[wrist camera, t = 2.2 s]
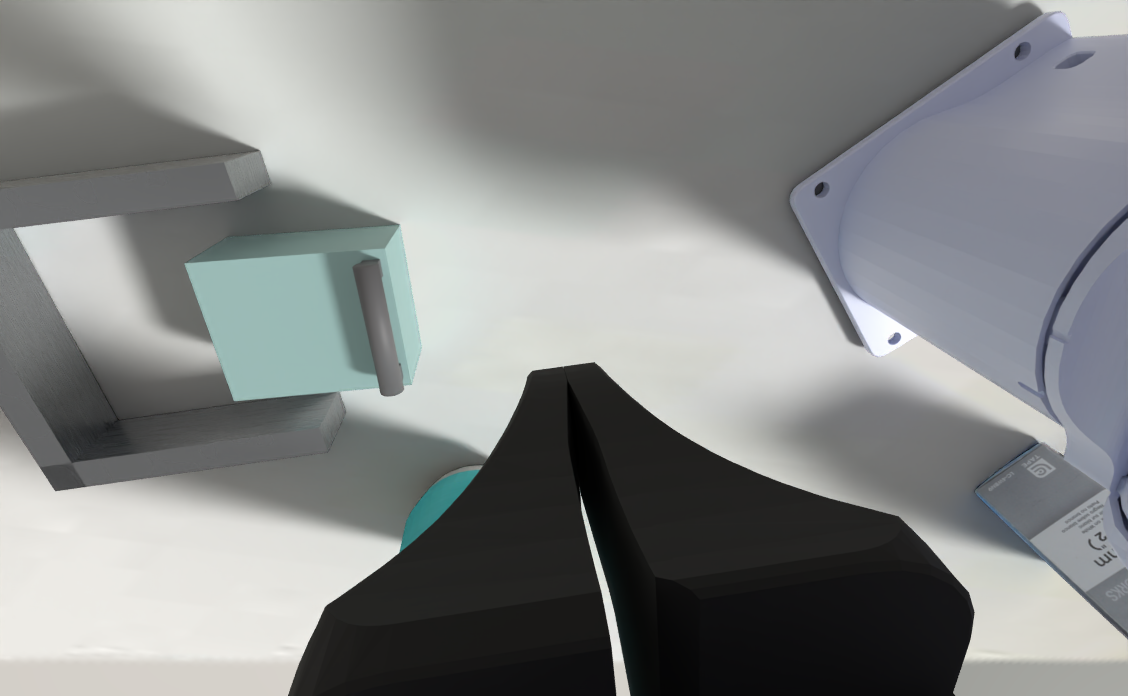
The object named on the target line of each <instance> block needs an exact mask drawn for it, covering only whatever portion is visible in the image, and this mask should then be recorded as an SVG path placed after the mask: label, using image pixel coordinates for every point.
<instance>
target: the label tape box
mask: <svg viewBox="0 0 1128 696" xmlns="http://www.w3.org/2000/svg"><path fill="white" fill-rule="evenodd" d="M975 493H976V494H977V496H978V497H979V498H980V499H981V500H982V501H983V502H984V503H985V504H986V505H987V506H988V507H989V508H990V509H992V510H993V511H994V512H995V513H996V514H997V515H998V516H999V517H1000V518H1001V519H1002V520H1003V521H1004V522H1005V523H1006V524H1007V525H1008V526H1009V527H1010V528H1011V529H1012V530H1013V531H1014V532H1015V533H1016V534H1017V535H1018V536H1019V537H1020V538H1021V539H1022V540H1023V541H1024V542H1025V543H1027V544H1028V545H1029V546H1030V547H1031V548H1032V549H1033V550H1034V551H1035V552H1036V553H1037V554H1038V555H1039V556H1040V557H1041V558H1042V559H1043V560H1044V561H1045V562H1046V563H1047V564H1048V565H1049V566H1051V567H1052V568H1053V569H1054V570H1055V571H1056V572H1057V573H1058V574H1059V575H1060V576H1061V577H1062V578H1063V579H1064V580H1065V581H1066V582H1067V583H1068V584H1070V585H1071V586H1072V587H1073V588H1074V589H1075V590H1076V591H1077V592H1078V593H1079V594H1080V595H1081V596H1082V597H1083V598H1084V599H1085V600H1086V601H1087V602H1089V603H1090V604H1091V605H1092V606H1093V607H1094V608H1095V609H1096V610H1097V611H1098V612H1099V613H1100V614H1101V615H1102V616H1103V617H1105V618H1106V619H1107V620H1108V621H1109V622H1110V623H1111V624H1112V625H1113V626H1114V627H1115V628H1116V629H1117V630H1118V631H1119V632H1121V633H1122V634H1123V635H1124V636H1125V637H1126V638H1127V639H1128V570H1127V569H1126V567H1125V566H1124V565H1123V564H1122V563H1121V562H1120V560H1119V559H1118V557H1117V555H1116V554H1115V552H1114V551H1113V549H1112V547H1111V546H1110V544H1109V542H1108V539H1107V536H1106V534H1105V531H1104V528H1103V508H1104V505H1105V502H1106V500H1107V497H1108V496H1109V494H1110V493H1111V492H1110V491H1109V490H1107V489H1106V488H1104V487H1103V486H1101V485H1100V484H1099V483H1097V482H1096V481H1094V480H1093V479H1091V478H1090V477H1088V476H1087V475H1086V474H1084V473H1083V472H1081V471H1080V470H1078V469H1077V468H1075V467H1074V466H1072V465H1071V464H1070V463H1068V462H1067V461H1065V460H1064V456H1063V455H1062V454H1060V453H1058V452H1057V451H1055V450H1054V449H1052V448H1051V447H1049V446H1048V445H1047V444H1045V443H1039V444H1037V445H1036V446H1034V447H1033V448H1031V449H1030V450H1028V451H1026V452H1025V453H1023V454H1022V455H1020V456H1019V457H1017V458H1016V459H1014V460H1013V461H1011V462H1010V463H1009V464H1007V465H1005V466H1004V467H1003V468H1001V469H1000V470H999V471H998V472H996V473H995V474H994V475H992V476H991V477H990V478H989V479H987V480H986V481H985V482H984V483H983V484H982V485H980V486H979V487H978V488H977V489H976V490H975Z"/></svg>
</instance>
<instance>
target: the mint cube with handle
mask: <svg viewBox="0 0 1128 696" xmlns="http://www.w3.org/2000/svg"><path fill="white" fill-rule="evenodd" d="M184 264H185V267H186V270H187V272H188V275H189V278H190V281H191V283H192V286H193V289H194V292H195V295H196V297H197V300H198V303H199V306H200V308H201V311H202V314H203V317H204V319H205V322H206V325H207V328H208V331H209V333H210V336H211V339H212V342H213V344H214V347H215V350H216V353H217V355H218V358H219V361H220V364H221V367H222V369H223V372H224V375H225V378H226V380H227V383H228V386H229V389H230V391H231V394H232V397H233V400H234V401H243V400H253V399H264V398H275V397H286V396H296V395H307V394H318V393H329V392H339V391H350V390H361V389H372V388H379V389H380V393H381V395H383V396H395V395H398V394H400V393H401V392H402V391H403V390H404V385H412V381H413V378H414V374H415V371H416V367H417V363H418V360H419V356H420V352H421V349H422V344H421V339H420V333H419V327H418V322H417V316H416V311H415V305H414V299H413V294H412V288H411V283H410V277H409V271H408V266H407V260H406V255H405V249H404V243H403V238H402V232H401V227H400V225H388V226H374V227H360V228H346V229H332V230H318V231H304V232H290V233H276V234H262V235H248V236H234V237H227V238H225V239H223V240H222V241H220V242H218V243H217V244H215V245H214V246H212V247H210V248H209V249H207V250H205V251H204V252H202V253H201V254H199V255H197V256H196V257H194V258H192V259H191V260H189V261H188V262H186V263H184Z"/></svg>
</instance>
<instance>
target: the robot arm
mask: <svg viewBox="0 0 1128 696" xmlns="http://www.w3.org/2000/svg"><path fill="white" fill-rule="evenodd" d="M1018 45H1020V53H1019V55H1018V57H1017V58H1016V59H1015V57H1014V52H1015V50H1016V48H1017V47H1018ZM821 182H823V185H824V188H823V190H822V192H821V193H820V194H818V195H816V196H815V193H814V190H815V187H816V186H817V185H818V184H819V183H821ZM790 205H791V207H792V209H793V211H794V213H795V215H796V217H797V219H798V221H799V223H800V224H801V226H802V228H803V230H804V232H805V234H806V236H807V238H808V240H809V242H810V244H811V245H812V247H813V249H814V251H815V253H816V255H817V257H818V259H819V261H820V263H821V265H822V267H823V268H824V270H825V272H826V274H827V276H828V278H829V280H830V282H831V284H832V286H833V288H834V290H835V291H836V293H837V295H838V297H839V299H840V301H841V303H842V305H843V307H844V309H845V311H846V312H847V314H848V316H849V318H850V320H851V322H852V324H853V326H854V328H855V330H856V332H857V334H858V335H859V337H860V339H861V341H862V343H863V345H864V347H865V349H866V350H867V351H868V352H869V353H870V354H871V355H873V356H876V357H882V356H884V355H886V354H888V353H890V352H891V351H893V350H895V349H896V348H898V347H899V346H901V345H903V344H904V343H906V342H908V341H909V340H911V339H912V338H914V337H916V336H917V335H918V336H920V337H921V338H923V339H925V340H926V341H928V342H929V343H931V344H932V345H934V346H936V347H937V348H939V349H940V350H942V351H944V352H945V353H947V354H948V355H950V356H951V357H953V358H955V359H956V360H958V361H959V362H961V363H963V364H964V365H966V366H967V367H969V368H970V369H972V370H974V371H975V372H977V373H978V374H980V375H982V376H983V377H985V378H986V379H988V380H989V381H991V382H993V383H994V384H996V385H997V386H999V387H1001V388H1002V389H1004V390H1005V391H1007V392H1008V393H1010V394H1012V395H1013V396H1015V397H1016V398H1018V399H1020V400H1021V401H1023V402H1024V403H1026V404H1027V405H1029V406H1031V407H1032V408H1034V409H1035V410H1037V411H1039V412H1040V413H1042V414H1043V415H1045V416H1046V417H1048V418H1050V419H1051V420H1053V421H1054V422H1056V423H1058V424H1059V425H1061V426H1062V427H1064V429H1065V431H1066V436H1067V446H1066V450H1065V454H1064V460H1065V461H1067V462H1068V463H1070V464H1071V465H1072V466H1074V467H1075V468H1077V469H1078V470H1080V471H1081V472H1083V473H1084V474H1086V475H1087V476H1088V477H1090V478H1091V479H1093V480H1094V481H1096V482H1097V483H1099V484H1100V485H1101V486H1103V487H1104V488H1106V489H1107V490H1109V491H1110V492H1111V493H1110V494H1109V496H1108V497H1107V500H1106V502H1105V505H1104V508H1103V528H1104V531H1105V534H1106V536H1107V539H1108V542H1109V544H1110V546H1111V547H1112V549H1113V551H1114V552H1115V554H1116V555H1117V557H1118V559H1119V560H1120V562H1121V563H1122V564H1123V565H1124V566H1125V567H1126V569H1127V570H1128V34H1124V35H1108V36H1091V37H1075V38H1073V37H1072V33H1071V29H1070V25H1069V20H1068V18H1067V16H1066V14H1065V13H1063V12H1061V11H1060V12H1048V13H1045V14H1043V15H1040V16H1039V17H1038V18H1036V19H1035V20H1033V21H1032V22H1030V23H1029V24H1028V25H1026V26H1025V27H1023V28H1022V29H1020V30H1019V31H1018V32H1016V33H1015V34H1013V35H1012V36H1010V37H1009V38H1007V39H1006V40H1005V41H1003V42H1002V43H1000V44H999V45H997V46H996V47H995V48H993V49H992V50H990V51H989V52H987V53H986V54H985V55H983V56H982V57H980V58H979V59H977V60H976V61H975V62H973V63H972V64H970V65H969V66H967V67H966V68H965V69H963V70H962V71H960V72H959V73H957V74H956V75H954V76H953V77H952V78H950V79H949V80H947V81H946V82H944V83H943V84H942V85H940V86H939V87H937V88H936V89H934V90H933V91H932V92H930V93H929V94H927V95H926V96H924V97H923V98H922V99H920V100H919V101H917V102H916V103H914V104H913V105H912V106H910V107H909V108H907V109H906V110H904V111H903V112H902V113H900V114H899V115H897V116H896V117H894V118H893V119H891V120H890V121H889V122H887V123H886V124H884V125H883V126H881V127H880V128H879V129H877V130H876V131H874V132H873V133H871V134H870V135H869V136H867V137H866V138H864V139H863V140H861V141H860V142H859V143H857V144H856V145H854V146H853V147H851V148H850V149H849V150H847V151H846V152H844V153H843V154H841V155H840V156H838V157H837V158H836V159H834V160H833V161H831V162H830V163H828V164H827V165H826V166H824V167H823V168H821V169H820V170H818V171H817V172H816V173H814V174H813V175H811V176H810V177H808V178H807V179H806V180H804V181H803V182H801V183H800V184H798V185H797V186H796V187H795V188H794V189H793V191H792V193H791V195H790ZM893 333H895V334H894V336H893V337H892V338H891V339H890V340H888V338H889V336H890V335H891V334H893ZM580 492H581V496H582V500H583V503H584V507H585V510H586V514H587V517H588V520H589V524H590V527H591V531H592V534H593V537H594V541H595V544H596V548H597V551H598V554H599V558H600V561H601V565H602V568H603V571H604V575H605V578H606V581H607V585H608V588H609V592H610V596H611V600H612V604H613V608H614V612H615V617H616V622H617V627H618V632H619V638H620V643H621V648H622V653H623V658H624V664H625V669H626V674H627V679H628V685H629V690H630V695H631V696H955V695H954V694H953V691H954V688H955V685H956V682H957V679H958V675H959V673H960V670H961V667H962V664H963V661H964V658H965V655H966V652H967V649H968V646H969V643H970V639H971V634H972V627H973V620H974V613H975V612H974V609H973V605H972V602H971V598H970V595H969V592H968V591H967V590H966V589H965V588H964V587H963V586H962V584H961V583H960V582H959V581H958V580H957V579H956V578H955V577H954V575H953V574H952V573H951V572H950V571H949V570H948V568H947V567H946V566H945V565H944V564H943V562H942V561H941V560H940V559H939V558H938V557H937V555H936V554H935V553H934V552H933V551H932V550H931V548H930V547H929V546H928V545H927V544H926V543H925V542H924V541H923V540H922V539H921V538H920V537H919V536H918V535H917V534H916V533H915V532H914V531H913V530H912V529H911V528H910V527H909V526H908V525H907V524H906V523H905V522H904V521H903V520H902V519H901V518H900V517H899V516H895V515H891V514H887V513H883V512H879V511H876V510H872V509H868V508H864V507H860V506H856V505H852V504H849V503H845V502H841V501H837V500H833V499H829V498H826V497H823V496H819V495H816V494H813V493H811V492H808V491H805V490H802V489H799V488H796V487H793V486H790V485H787V484H784V483H781V482H779V481H776V480H773V479H771V478H768V477H766V476H763V475H761V474H758V473H756V472H754V471H751V470H749V469H747V468H745V467H742V466H740V465H738V464H736V463H733V462H731V461H729V460H727V459H725V458H723V457H721V456H719V455H717V454H715V453H713V452H711V451H709V450H707V449H706V448H704V447H702V446H700V445H699V444H697V443H695V442H693V441H691V440H690V439H688V438H686V437H685V436H683V435H681V434H680V433H678V432H677V431H675V430H673V429H672V428H671V427H669V426H668V425H666V424H665V423H663V422H662V421H661V420H659V419H658V418H657V417H655V416H654V415H653V414H651V413H650V412H649V411H648V410H646V409H645V408H644V407H643V406H642V405H640V404H639V403H638V402H637V401H636V400H634V399H633V398H632V397H631V396H630V395H629V394H627V393H626V392H625V391H624V390H623V389H622V388H621V387H620V386H619V385H618V384H617V383H616V382H615V381H613V380H612V379H611V378H610V377H609V376H608V375H607V374H606V373H605V371H604V370H603V369H602V368H601V367H600V366H598V365H597V364H596V363H595V362H593V363H586V364H578V365H571V366H564V368H563V367H557V368H550V369H542V370H535V371H532V372H531V373H530V374H529V375H528V377H527V381H526V385H525V388H524V391H523V394H522V396H521V399H520V401H519V403H518V406H517V408H516V410H515V412H514V414H513V416H512V418H511V420H510V422H509V424H508V426H507V428H506V430H505V431H504V433H503V435H502V436H501V438H500V440H499V441H498V443H497V445H496V446H495V448H494V450H493V451H492V453H491V455H490V456H489V458H488V459H487V461H486V462H485V463H484V465H483V466H482V468H481V469H480V470H479V472H478V473H477V474H476V476H475V477H474V478H473V480H472V481H471V482H470V483H469V485H468V486H467V487H466V488H465V490H464V491H463V492H462V493H461V494H460V495H459V496H458V498H457V499H456V500H455V501H454V502H453V503H452V504H451V505H450V507H449V508H448V509H447V510H446V511H445V512H444V513H443V514H442V515H441V516H440V517H439V518H438V519H437V520H436V521H435V522H434V523H433V524H432V525H431V526H430V527H429V528H427V529H426V530H425V531H424V532H423V533H422V534H421V535H420V536H419V537H418V538H416V539H415V540H414V541H413V542H412V543H411V544H409V545H408V546H407V547H406V548H405V549H403V550H402V551H401V552H400V553H399V554H397V555H396V556H395V557H394V558H392V559H391V560H390V561H389V562H387V563H386V564H385V565H383V566H382V567H381V568H379V569H378V570H377V571H375V572H374V573H372V574H371V575H370V576H368V577H367V578H365V579H364V580H363V581H361V582H360V583H358V584H357V585H356V586H354V587H353V588H351V589H350V590H349V591H347V592H346V593H344V594H343V595H342V596H340V597H339V598H337V599H336V600H334V601H333V602H331V603H330V604H328V605H327V606H326V607H325V608H324V611H323V613H322V615H321V618H320V620H319V622H318V624H317V627H316V629H315V630H314V632H313V634H312V636H311V638H310V640H309V642H308V645H307V647H306V649H305V652H304V654H303V656H302V659H301V661H300V663H299V666H298V668H297V671H296V674H295V677H294V680H293V683H292V686H291V688H290V691H289V694H288V696H616V687H615V677H614V667H613V657H612V647H611V641H610V635H609V629H608V624H607V619H606V614H605V609H604V603H603V598H602V593H601V589H600V585H599V581H598V578H597V574H596V570H595V566H594V562H593V558H592V554H591V550H590V546H589V542H588V538H587V533H586V529H585V524H584V520H583V516H582V511H581V497H580Z"/></svg>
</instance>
